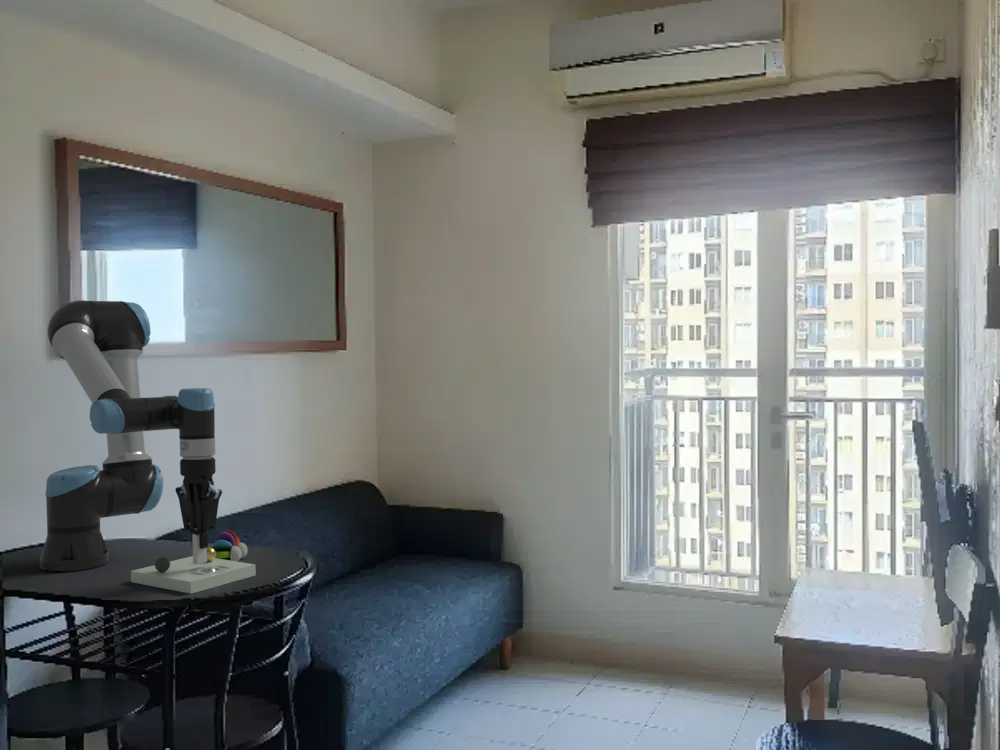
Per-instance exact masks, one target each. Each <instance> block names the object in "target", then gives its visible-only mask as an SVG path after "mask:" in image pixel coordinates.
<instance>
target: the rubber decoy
mask: <svg viewBox="0 0 1000 750" xmlns="http://www.w3.org/2000/svg"><path fill="white" fill-rule="evenodd" d="M154 565H155V568H156V570H157V571H159V572H165V571H167V570H168V569H169V567H170V560H169V558H167V557H165V556H164V557H159V558H157V559H156V561H155V562H154Z"/></svg>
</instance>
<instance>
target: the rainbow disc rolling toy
mask: <svg viewBox="0 0 1000 750" xmlns="http://www.w3.org/2000/svg"><path fill="white" fill-rule="evenodd" d="M209 547H210V548H213V549H214V550H215V551H216V557H215V558H218V559H227V558H228V559H229V558H230V561H237V562H240V560H241V559H244V558H246V556H247V555H248V551H249V550H248V546H247V544H246V543H244V542H241V540H240V538H239V537H237V534H236V533H235V532H234V531H232V530H225V531H222V532H219V534H218V535H217V536H216V539H215V541H214V543H213V545H211V546H209Z"/></svg>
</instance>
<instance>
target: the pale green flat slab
mask: <svg viewBox="0 0 1000 750" xmlns="http://www.w3.org/2000/svg"><path fill="white" fill-rule="evenodd" d="M169 561H170V560H169ZM209 567H212V568H215V569H216V570H217V571H215V572H209V573H203V572H204V570H205V569H207V568H209ZM256 571H257V570H256V564H254V563H249V562H242V561H231V559H230V560H229V559H225V558H220V559H218V558H215V559H214V560H212V561H209V562H208V561H207V562H204V563H200V564H193V555H192V556H187V557H183V558H179V559H175V560H171V561H170V567H169V569H168V570H167V571H165V572H159V571H157V570H156V568H155V564H154V565H150V566H145V567H142V568H137V569H133V570H130V582H131V583H135V584H140V585H144V586H148V587H149V586H150V587H155V588H161V589H164V590H171V591H174V592H175V591H176V592H180V593H186V594H194V593H198V592H201V591H205V590H209V589H212V588H217V587H219V586H224V585H226V584H229V583H235V582H237V581H240V580H241V581H242V580H244V579H248V578H251V577H255V576H256V575H257V574H256V573H257V572H256Z"/></svg>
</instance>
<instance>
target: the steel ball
mask: <svg viewBox="0 0 1000 750" xmlns="http://www.w3.org/2000/svg"><path fill="white" fill-rule="evenodd" d="M215 571H217V570H216V569H215V568H212V567H209V568H207V569H205V570H204V572H203V573H209V572H215Z"/></svg>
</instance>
